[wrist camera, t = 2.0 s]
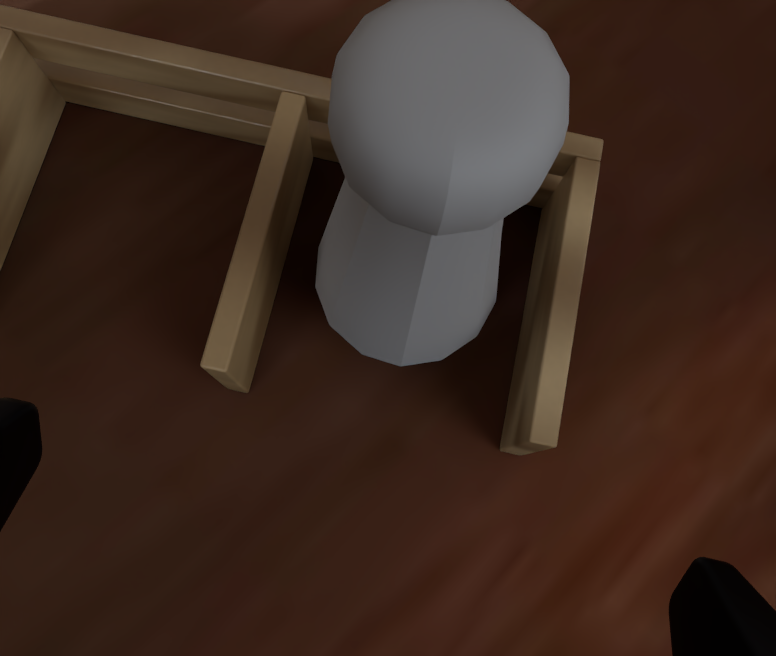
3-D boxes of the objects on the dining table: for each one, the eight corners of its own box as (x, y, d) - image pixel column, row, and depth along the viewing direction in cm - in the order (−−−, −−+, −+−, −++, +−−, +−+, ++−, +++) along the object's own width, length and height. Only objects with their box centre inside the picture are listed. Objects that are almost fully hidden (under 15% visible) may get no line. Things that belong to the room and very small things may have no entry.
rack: (522, 456, 22) (557, 447, 18) (-46, 327, 22) (-130, 292, 19) (565, 194, 25) (604, 138, 21) (53, 79, 25) (-3, 2, 21)
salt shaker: (285, 299, 23) (200, 66, 11) (395, 190, 24) (437, -136, 12) (409, 413, 22) (477, 309, 10) (517, 295, 24) (701, 66, 11)
